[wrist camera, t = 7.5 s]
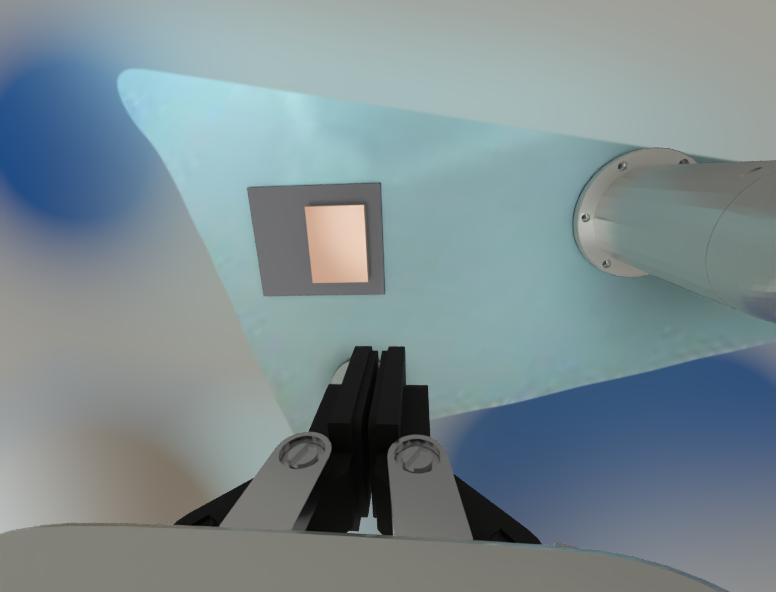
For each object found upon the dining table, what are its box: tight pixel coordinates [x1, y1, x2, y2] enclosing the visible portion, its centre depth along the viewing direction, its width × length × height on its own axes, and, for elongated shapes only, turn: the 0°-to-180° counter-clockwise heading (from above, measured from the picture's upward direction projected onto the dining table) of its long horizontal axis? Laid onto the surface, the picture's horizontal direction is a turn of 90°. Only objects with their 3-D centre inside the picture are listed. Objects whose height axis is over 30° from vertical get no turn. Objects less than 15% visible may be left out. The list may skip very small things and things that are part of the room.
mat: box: [247, 183, 385, 296], centre depth 39 cm, size 14×12×1 cm
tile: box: [305, 204, 370, 283], centre depth 38 cm, size 2×8×6 cm
